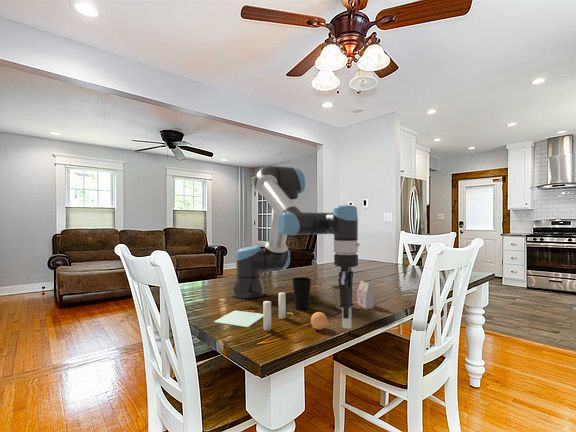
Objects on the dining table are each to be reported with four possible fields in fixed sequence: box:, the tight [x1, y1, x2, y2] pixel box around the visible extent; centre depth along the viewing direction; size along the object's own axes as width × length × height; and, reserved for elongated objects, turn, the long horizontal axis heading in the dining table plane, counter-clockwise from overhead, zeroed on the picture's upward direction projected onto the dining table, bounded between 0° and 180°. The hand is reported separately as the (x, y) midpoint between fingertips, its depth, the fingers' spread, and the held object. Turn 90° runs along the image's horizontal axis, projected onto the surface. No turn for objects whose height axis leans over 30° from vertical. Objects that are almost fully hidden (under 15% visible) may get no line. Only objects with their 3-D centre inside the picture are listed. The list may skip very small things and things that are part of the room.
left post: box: [262, 300, 272, 332], centre depth 95 cm, size 3×3×9 cm
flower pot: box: [331, 284, 356, 311], centre depth 118 cm, size 9×9×9 cm
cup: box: [291, 276, 312, 311], centre depth 118 cm, size 8×8×12 cm
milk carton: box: [356, 280, 374, 310], centre depth 121 cm, size 4×7×10 cm, turn 17°
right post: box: [278, 291, 287, 320], centre depth 107 cm, size 3×3×9 cm
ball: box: [310, 311, 328, 331], centre depth 95 cm, size 6×6×6 cm
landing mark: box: [213, 310, 263, 328], centre depth 106 cm, size 14×14×1 cm
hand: (346, 327), depth 92 cm, fingers closed
